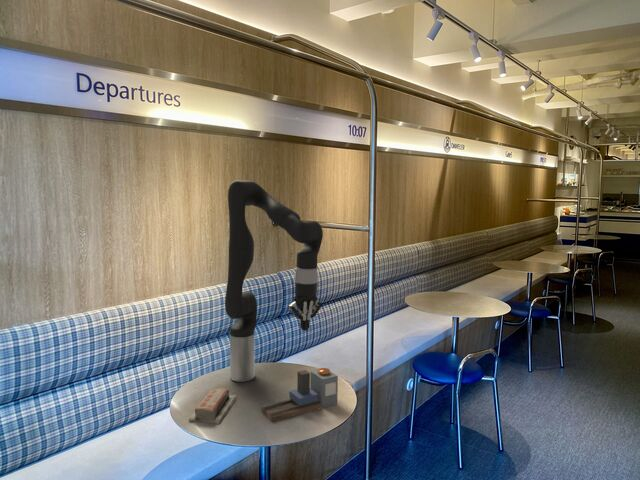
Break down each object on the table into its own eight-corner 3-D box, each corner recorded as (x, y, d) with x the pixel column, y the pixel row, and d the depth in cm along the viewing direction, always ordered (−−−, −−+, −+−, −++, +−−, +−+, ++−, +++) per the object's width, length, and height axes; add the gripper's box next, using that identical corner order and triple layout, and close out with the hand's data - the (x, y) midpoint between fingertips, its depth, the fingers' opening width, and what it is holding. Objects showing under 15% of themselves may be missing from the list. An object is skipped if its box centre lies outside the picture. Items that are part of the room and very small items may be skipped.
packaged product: (219, 410, 146) (188, 408, 148) (219, 425, 147) (188, 423, 148) (236, 386, 164) (208, 384, 165) (236, 399, 165) (208, 397, 166)
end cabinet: (310, 398, 165) (310, 371, 164) (324, 395, 168) (325, 367, 167) (322, 408, 158) (323, 379, 157) (337, 404, 161) (338, 376, 160)
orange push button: (315, 386, 163) (316, 369, 162) (325, 383, 165) (325, 367, 164) (321, 390, 160) (322, 373, 159) (331, 387, 162) (332, 371, 161)
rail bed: (261, 411, 155) (261, 404, 155) (309, 399, 165) (309, 392, 164) (271, 421, 149) (271, 414, 148) (320, 408, 158) (321, 401, 158)
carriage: (289, 397, 160) (289, 370, 159) (307, 393, 163) (307, 366, 162) (299, 405, 154) (299, 378, 153) (317, 401, 157) (318, 373, 156)
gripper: (317, 276, 167) (315, 324, 169) (283, 279, 160) (282, 329, 162) (328, 281, 160) (326, 330, 163) (294, 284, 153) (292, 336, 156)
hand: (304, 329), depth 162 cm, fingers closed
